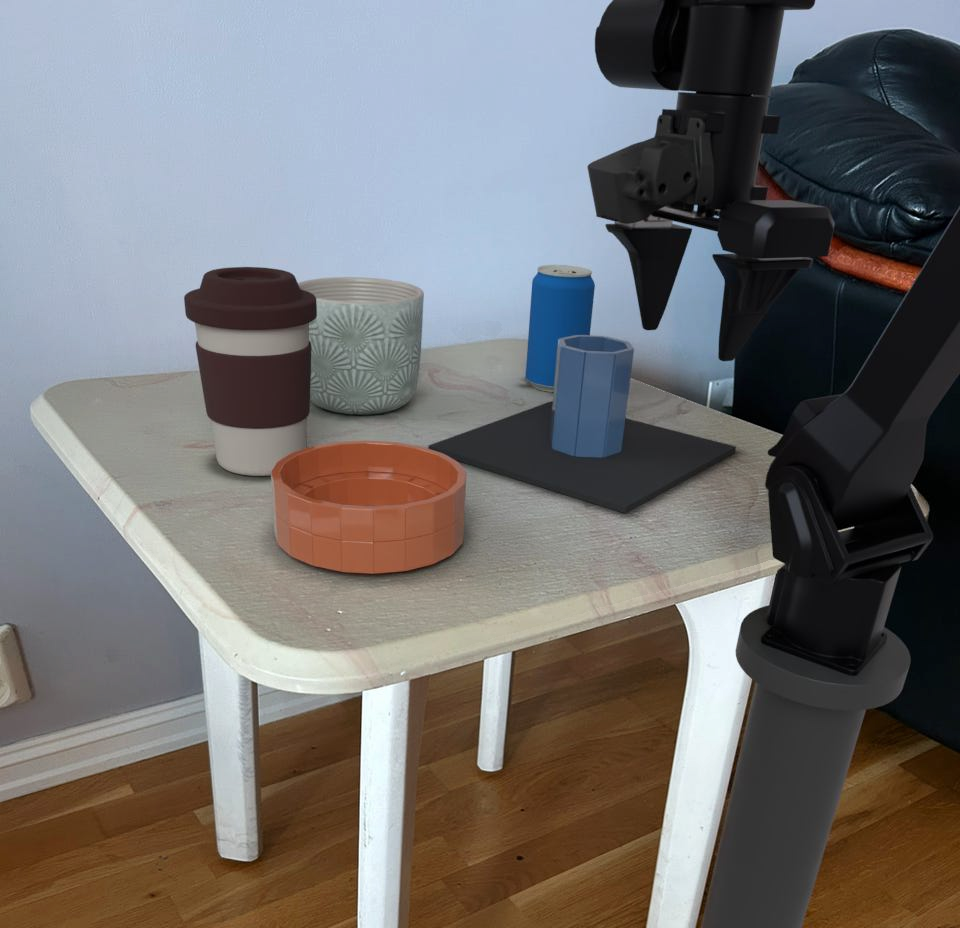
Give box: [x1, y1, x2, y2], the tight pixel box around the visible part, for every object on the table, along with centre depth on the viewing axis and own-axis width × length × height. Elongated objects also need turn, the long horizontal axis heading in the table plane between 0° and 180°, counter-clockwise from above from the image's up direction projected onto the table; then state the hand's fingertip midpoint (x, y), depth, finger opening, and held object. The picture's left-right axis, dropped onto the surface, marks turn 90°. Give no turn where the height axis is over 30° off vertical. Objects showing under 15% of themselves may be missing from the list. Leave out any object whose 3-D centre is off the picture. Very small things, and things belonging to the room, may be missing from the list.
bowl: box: [270, 439, 467, 575], centre depth 69 cm, size 13×13×5 cm
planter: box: [297, 276, 425, 416], centre depth 95 cm, size 12×12×11 cm
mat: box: [427, 400, 737, 514], centre depth 88 cm, size 20×20×1 cm
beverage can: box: [524, 264, 596, 393], centre depth 104 cm, size 6×6×12 cm
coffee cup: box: [183, 266, 317, 477], centre depth 78 cm, size 10×10×15 cm
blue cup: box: [550, 334, 635, 458], centre depth 86 cm, size 6×6×9 cm
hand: (685, 344), depth 70 cm, fingers open, 9 cm apart
